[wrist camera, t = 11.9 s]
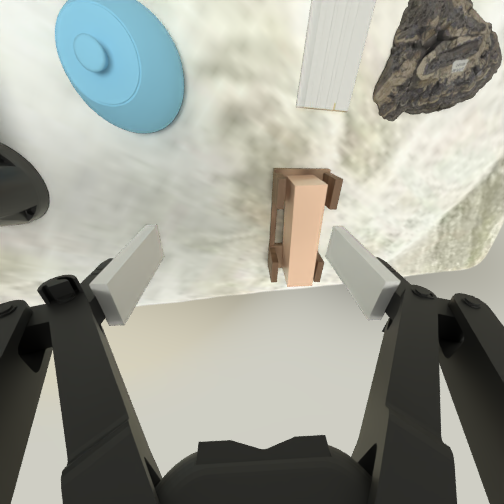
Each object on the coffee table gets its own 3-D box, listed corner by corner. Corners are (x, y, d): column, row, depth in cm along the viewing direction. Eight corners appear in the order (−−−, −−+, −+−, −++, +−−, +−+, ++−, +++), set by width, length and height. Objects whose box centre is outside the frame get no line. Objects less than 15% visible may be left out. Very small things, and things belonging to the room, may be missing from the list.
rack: (267, 264, 50) (270, 284, 44) (273, 168, 39) (279, 175, 33) (310, 264, 50) (319, 283, 44) (328, 168, 39) (343, 176, 33)
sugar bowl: (107, 134, 35) (54, 137, 25) (63, 6, 28) (-38, -62, 18) (195, 131, 36) (175, 132, 26) (175, 2, 28) (136, -68, 18)
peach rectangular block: (281, 264, 49) (287, 286, 42) (286, 175, 38) (295, 185, 32) (302, 263, 49) (311, 285, 42) (313, 174, 38) (327, 184, 32)
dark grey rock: (377, 3, 29) (368, 127, 36) (395, -14, 25) (381, 126, 33) (524, -37, 27) (483, 100, 35) (563, -60, 24) (508, 97, 31)
